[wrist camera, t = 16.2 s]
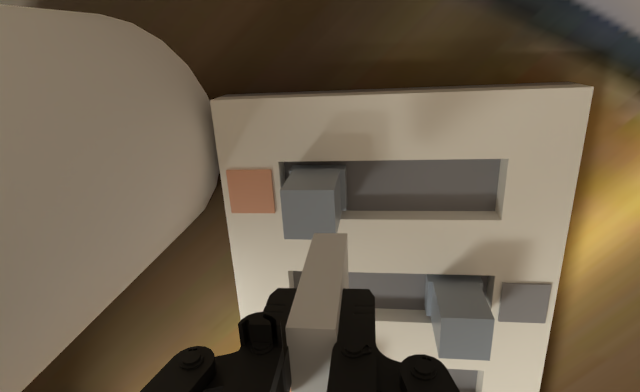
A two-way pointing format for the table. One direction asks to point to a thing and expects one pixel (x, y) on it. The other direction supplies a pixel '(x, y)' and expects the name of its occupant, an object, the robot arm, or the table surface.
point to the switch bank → (417, 204)
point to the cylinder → (88, 172)
